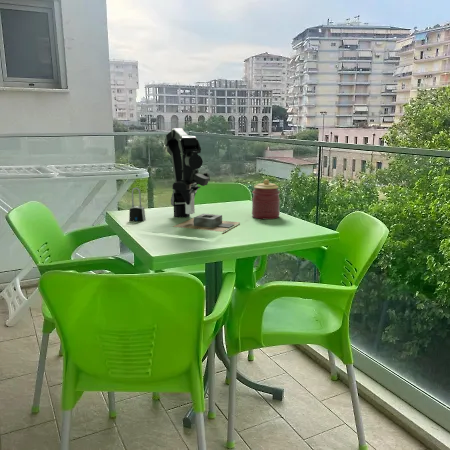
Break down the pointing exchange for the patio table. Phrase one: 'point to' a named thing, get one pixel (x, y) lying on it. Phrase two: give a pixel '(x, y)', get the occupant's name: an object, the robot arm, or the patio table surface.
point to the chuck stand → (208, 223)
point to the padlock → (136, 210)
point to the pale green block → (191, 203)
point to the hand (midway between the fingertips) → (189, 204)
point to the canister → (265, 201)
